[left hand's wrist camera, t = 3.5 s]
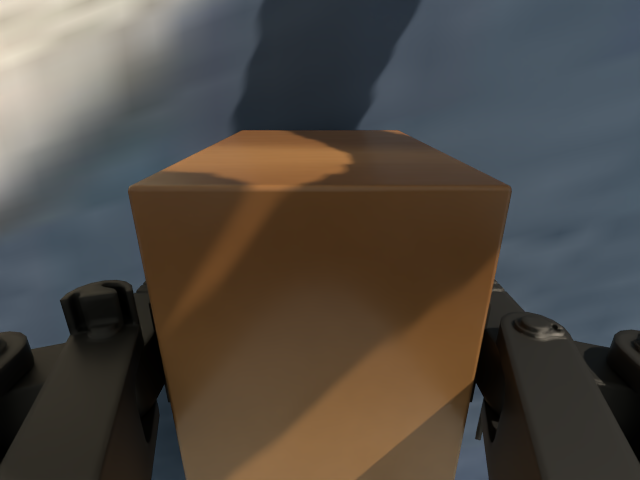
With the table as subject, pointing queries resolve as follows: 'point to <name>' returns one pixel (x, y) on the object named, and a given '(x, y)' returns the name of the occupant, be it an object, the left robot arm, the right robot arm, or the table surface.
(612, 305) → the table surface
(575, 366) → the left robot arm
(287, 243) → the bar
